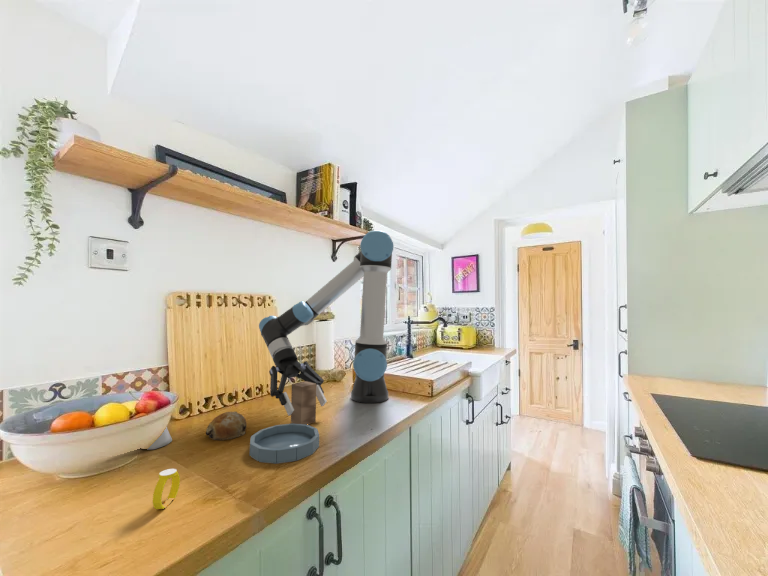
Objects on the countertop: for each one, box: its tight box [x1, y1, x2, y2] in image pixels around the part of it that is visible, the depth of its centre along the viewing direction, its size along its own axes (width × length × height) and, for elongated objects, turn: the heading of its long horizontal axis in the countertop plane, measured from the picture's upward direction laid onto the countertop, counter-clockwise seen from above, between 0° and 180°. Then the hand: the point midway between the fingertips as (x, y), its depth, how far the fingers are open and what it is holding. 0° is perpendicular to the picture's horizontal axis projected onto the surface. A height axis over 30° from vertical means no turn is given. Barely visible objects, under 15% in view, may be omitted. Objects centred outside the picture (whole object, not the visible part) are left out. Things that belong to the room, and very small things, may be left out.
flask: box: [147, 427, 173, 450], centre depth 85 cm, size 7×7×10 cm
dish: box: [249, 422, 320, 464], centre depth 84 cm, size 17×17×3 cm
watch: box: [152, 468, 181, 510], centre depth 60 cm, size 6×3×6 cm, turn 4°
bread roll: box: [205, 411, 248, 441], centre depth 92 cm, size 10×10×8 cm
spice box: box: [290, 380, 317, 425], centre depth 103 cm, size 6×6×12 cm
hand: (308, 408), depth 101 cm, fingers open, 12 cm apart
